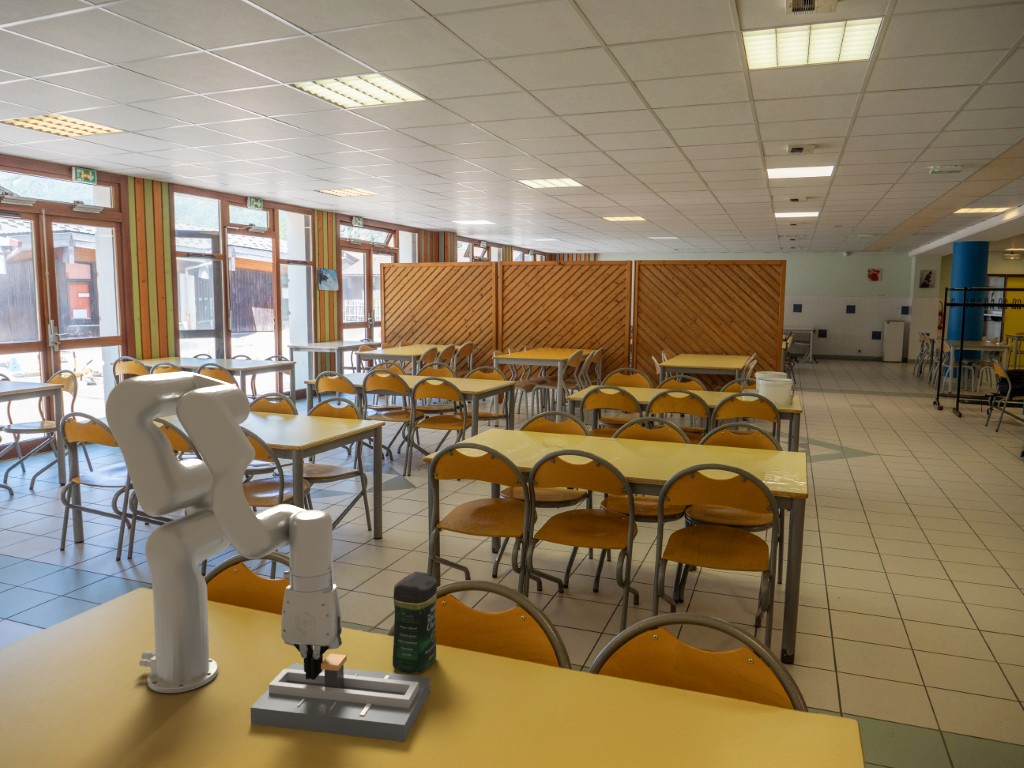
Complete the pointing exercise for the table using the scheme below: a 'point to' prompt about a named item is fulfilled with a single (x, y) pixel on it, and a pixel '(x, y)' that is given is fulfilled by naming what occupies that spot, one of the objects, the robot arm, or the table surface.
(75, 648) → the table surface
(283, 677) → the console
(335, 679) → the fader
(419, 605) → the coffee jar
